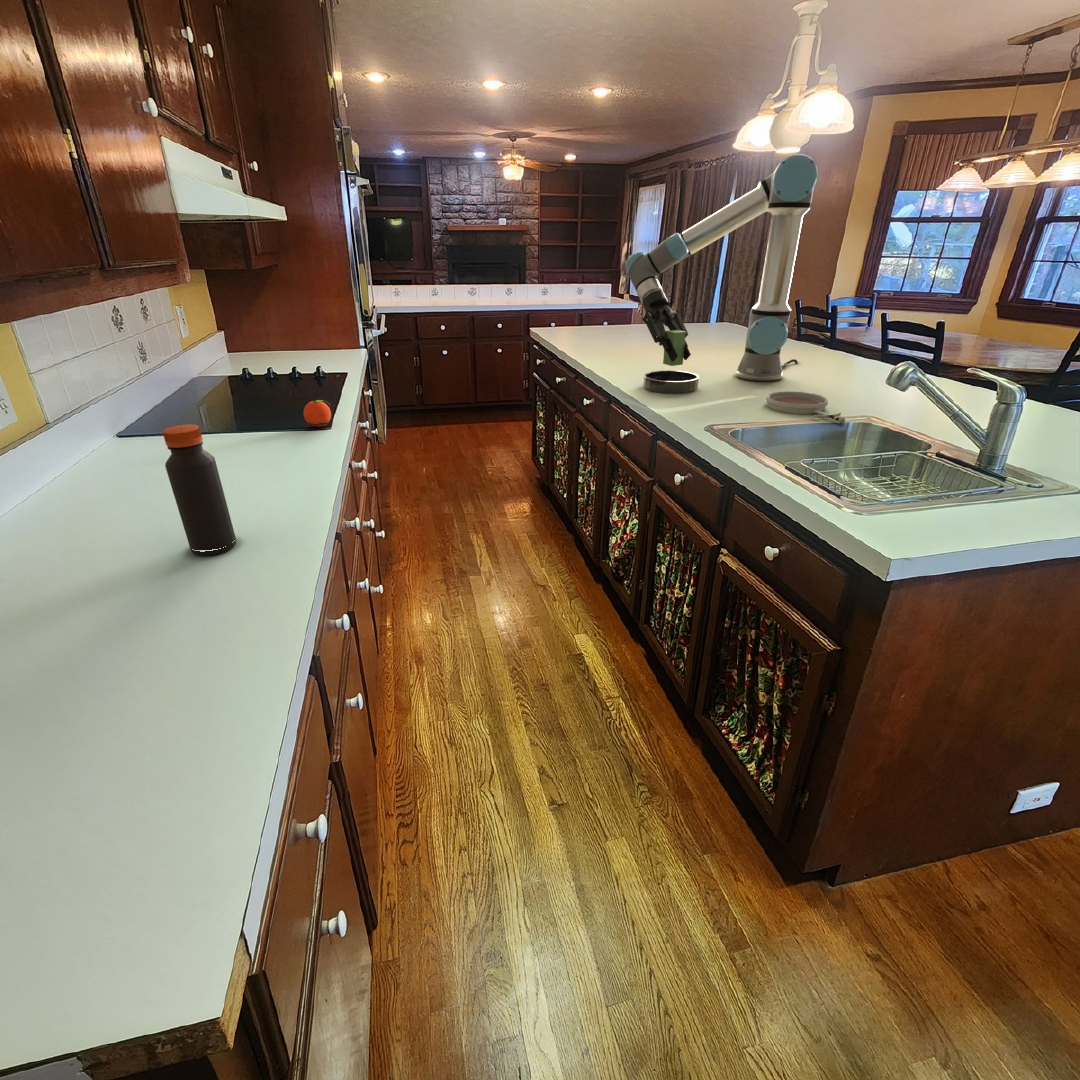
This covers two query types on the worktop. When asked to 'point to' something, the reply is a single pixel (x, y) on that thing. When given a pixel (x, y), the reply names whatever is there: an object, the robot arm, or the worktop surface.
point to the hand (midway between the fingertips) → (681, 358)
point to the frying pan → (801, 404)
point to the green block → (675, 347)
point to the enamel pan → (671, 382)
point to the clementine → (317, 413)
